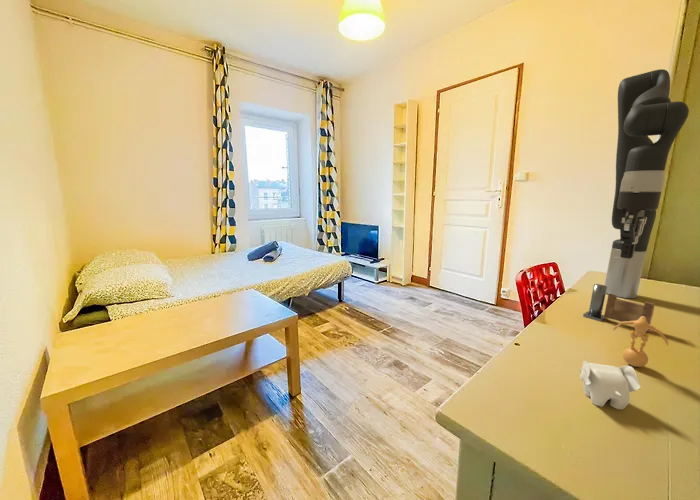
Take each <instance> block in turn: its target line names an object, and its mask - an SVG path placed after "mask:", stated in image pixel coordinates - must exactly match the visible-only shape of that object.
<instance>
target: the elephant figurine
mask: <svg viewBox="0 0 700 500" xmlns="http://www.w3.org/2000/svg"><path fill="white" fill-rule="evenodd" d="M578 372H579V373H580V375H579V377H580V380H581V381H582V384H583V385H582V386H583V392H584V395H586V396H587V397H588V398H590V402H591V403H592V404H593V405H595V406H597V407H604V406H605V404H606V403H607V402H608V400H610V402H609V405H610V406H611V407H612V408H614V409H616V410H619V411H620V410H624V409H625V408H626V407H627V406H628V405H629V402H630V393H631V392H633V393H634V392H637V390H639V389H640V388H641V387H642V384H641V383H640V380H639V377H638V375H637V373H636V370H635V369H634V366H632V365H622V366H619V367H617V366H615V365H608V364H600V363H594V362H588V361H587V360H586V359H584V360H583V362H582V367H581V368H580V369H578Z"/></svg>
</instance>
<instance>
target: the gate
mask: <svg viewBox="0 0 700 500" xmlns="http://www.w3.org/2000/svg"><path fill="white" fill-rule="evenodd" d="M653 306H655V303H654V302H650V301H645V302H644V304H641V303H638V302H634V301H633V302H632V301H627V300H623V299H620V298H618V297H617V295H614V294H608V295H607V300H606V306H605V310H604V314H603V315H604V317H605V319H609V320H613V321H618V322H624V321H635V320H638V319H639V318H640V317H641V316H645V317H646V320H647V322H648V323H650V319H651V315H652V310H653Z"/></svg>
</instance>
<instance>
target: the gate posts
mask: <svg viewBox="0 0 700 500" xmlns="http://www.w3.org/2000/svg"><path fill="white" fill-rule="evenodd" d="M606 289H607V286H605V284H601V283H600V284H599V283H594V284H593V288H592V293H591V298H590V304H589V309H588V311H586V312H585V313H583V318H588V319H591V320H594V321H600V322H602V321H603V320H606V318H605V317H604V314H603V309H604V303H605V300H606V299H605V298H606V294H607V293H606ZM655 307H656V306H655V305H654V306H653V310H652V315H651V319H650V323H649V324H650V325H652V319H653V315H654V310H655ZM653 327H654V328H656V327H655V326H653ZM646 332H647V333H651V334H653V333H654V332H655V331H653V330H651V329H648V330H647V331H646Z"/></svg>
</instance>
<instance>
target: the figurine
mask: <svg viewBox="0 0 700 500" xmlns="http://www.w3.org/2000/svg"><path fill="white" fill-rule="evenodd" d="M622 325H633V326H634V327H633V328H634V330H631V331H630V338H631V340H630V347H628V348H625V349H624V350H623V352H622V358H623V360H624V361H625V363H627V364H628V365H629V366H631V367H635V368H642V367H645V366H646V365H647V364H648V362H649V357H648V355H647V353H646V352H645V351H644V348H645V347H646V343H647V342H648V341H649V340H648V339H649V337H650V336H649V334H647V333H646V332H647V330H648V329H651V330H653V331H654V332H655V333H656V334H659V335H660V337H661V338H662V340H663V341H664V342H665V344H666V346H669V342H668V339H667V337H666V336H665V334H664V333H663V332H662V331H660V330H659V329H657V328H656V327H655V326H653V325H652V324H649V323H648V322H647V320H646V317H645V316H641V317H640V318H639V319H638V320H635V321H624V322H621V321H619V323H617V324H616V325H615V326H614V327H613V329H612V330H613V331H616V330H617V329H618V328H619V327H621V326H622ZM654 327H655V328H654ZM637 338H640V340H641V341H642V343H640V348H638V347H635V343H636V341H635V340H636V339H637Z"/></svg>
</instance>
